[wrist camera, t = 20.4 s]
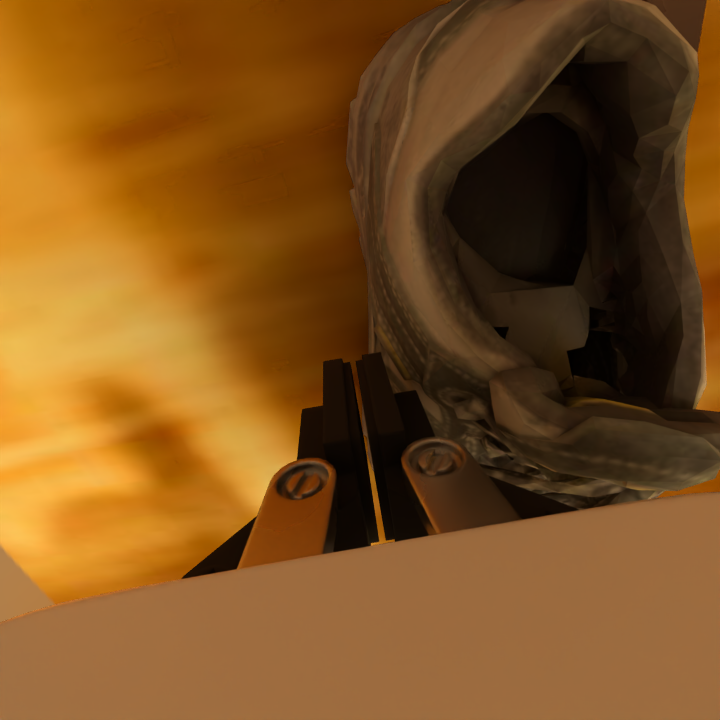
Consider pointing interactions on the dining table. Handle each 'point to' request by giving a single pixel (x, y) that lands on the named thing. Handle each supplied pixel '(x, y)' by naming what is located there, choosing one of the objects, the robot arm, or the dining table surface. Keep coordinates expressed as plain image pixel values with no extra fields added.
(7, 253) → the dining table surface
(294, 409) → the dining table surface
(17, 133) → the dining table surface
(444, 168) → the hiking shoe
